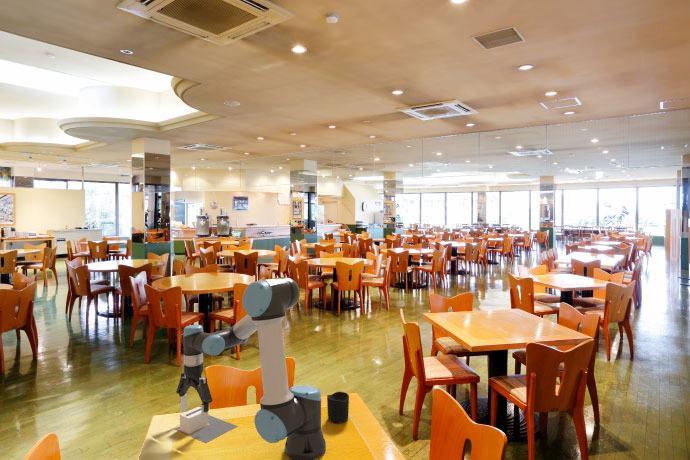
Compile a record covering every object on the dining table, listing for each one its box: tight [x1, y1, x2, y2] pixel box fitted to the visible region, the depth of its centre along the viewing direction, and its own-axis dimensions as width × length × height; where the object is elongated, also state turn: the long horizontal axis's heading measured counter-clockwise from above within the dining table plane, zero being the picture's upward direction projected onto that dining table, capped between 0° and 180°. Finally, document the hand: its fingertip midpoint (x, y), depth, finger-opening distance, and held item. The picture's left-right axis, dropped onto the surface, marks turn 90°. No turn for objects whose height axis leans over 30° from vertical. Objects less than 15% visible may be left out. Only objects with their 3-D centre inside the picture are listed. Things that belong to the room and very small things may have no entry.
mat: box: [174, 414, 239, 444], centre depth 172 cm, size 20×16×1 cm
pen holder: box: [326, 391, 350, 424], centre depth 180 cm, size 9×9×10 cm
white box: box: [179, 406, 208, 433], centre depth 172 cm, size 9×6×6 cm, turn 146°
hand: (194, 415), depth 172 cm, fingers open, 13 cm apart
